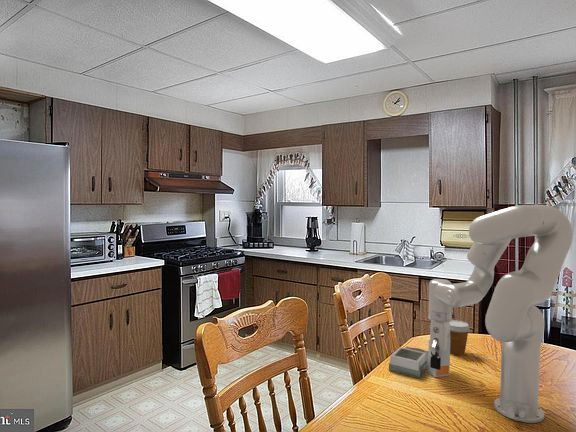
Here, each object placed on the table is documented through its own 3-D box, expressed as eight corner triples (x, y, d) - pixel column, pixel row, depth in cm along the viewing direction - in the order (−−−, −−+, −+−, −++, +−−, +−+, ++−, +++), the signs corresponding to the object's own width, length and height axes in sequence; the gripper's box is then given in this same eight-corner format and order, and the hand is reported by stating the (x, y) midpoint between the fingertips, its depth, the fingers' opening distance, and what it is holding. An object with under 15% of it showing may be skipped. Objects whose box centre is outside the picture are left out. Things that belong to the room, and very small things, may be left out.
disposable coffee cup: (438, 350, 159) (438, 321, 159) (455, 347, 163) (455, 318, 163) (457, 359, 151) (457, 328, 150) (474, 355, 155) (475, 325, 154)
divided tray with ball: (419, 378, 135) (420, 362, 134) (388, 370, 141) (389, 355, 140) (434, 358, 151) (435, 344, 151) (406, 352, 157) (406, 339, 157)
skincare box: (435, 378, 135) (435, 343, 134) (427, 372, 139) (428, 339, 139) (450, 376, 137) (450, 342, 136) (442, 370, 141) (442, 337, 140)
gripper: (445, 323, 128) (444, 375, 128) (456, 311, 142) (455, 357, 143) (422, 319, 132) (421, 369, 133) (435, 307, 146) (434, 353, 147)
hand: (438, 363), depth 138 cm, fingers open, 9 cm apart
